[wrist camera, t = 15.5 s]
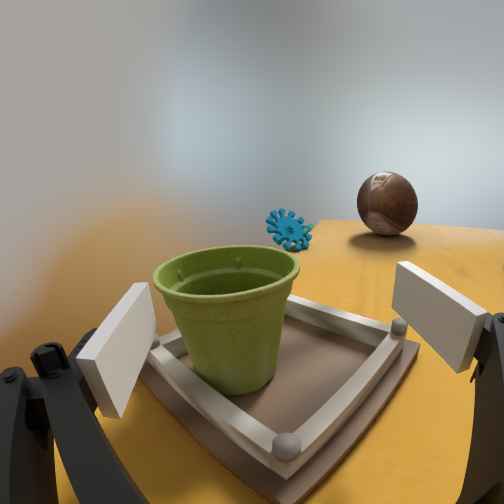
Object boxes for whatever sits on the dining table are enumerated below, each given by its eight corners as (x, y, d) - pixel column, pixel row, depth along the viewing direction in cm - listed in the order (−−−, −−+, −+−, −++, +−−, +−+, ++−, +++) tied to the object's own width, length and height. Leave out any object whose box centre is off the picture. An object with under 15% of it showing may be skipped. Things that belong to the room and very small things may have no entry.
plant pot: (315, 400, 17) (322, 282, 15) (172, 419, 16) (137, 302, 13) (282, 332, 26) (279, 240, 23) (180, 344, 25) (163, 252, 22)
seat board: (418, 352, 21) (426, 318, 20) (287, 513, 10) (290, 488, 9) (272, 303, 34) (271, 275, 33) (132, 368, 22) (121, 335, 21)
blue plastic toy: (278, 248, 52) (261, 205, 56) (265, 265, 56) (251, 223, 61) (324, 246, 57) (306, 207, 61) (310, 261, 61) (294, 224, 66)
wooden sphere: (349, 238, 62) (348, 171, 58) (364, 226, 74) (364, 170, 69) (414, 245, 53) (416, 173, 49) (417, 231, 65) (419, 173, 61)
